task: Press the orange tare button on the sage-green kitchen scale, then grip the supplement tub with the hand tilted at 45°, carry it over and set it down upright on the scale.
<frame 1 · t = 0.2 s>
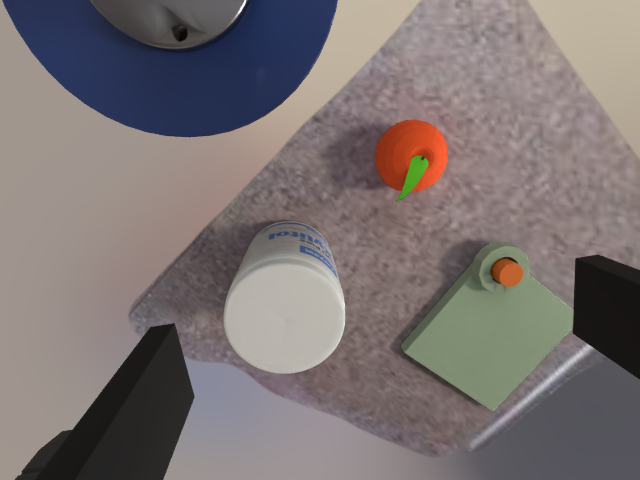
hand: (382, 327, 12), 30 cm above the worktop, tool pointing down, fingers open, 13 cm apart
supplement tub: (288, 259, 43), on the worktop
tare button: (507, 272, 40), point 4 cm above the worktop, slide at 0.1 cm
scale: (487, 328, 47), on the worktop
clementine: (398, 159, 41), on the worktop
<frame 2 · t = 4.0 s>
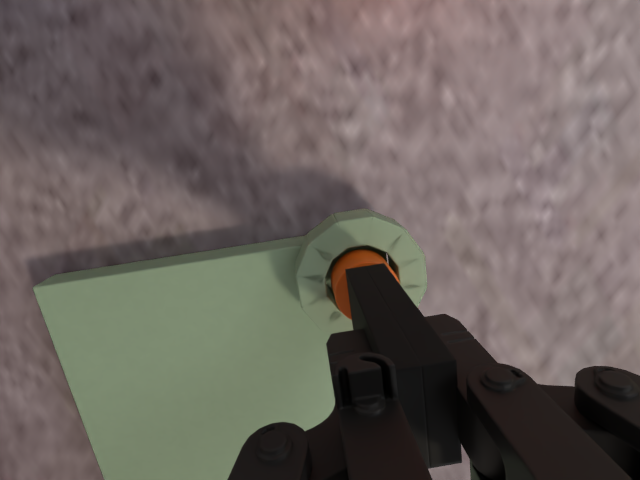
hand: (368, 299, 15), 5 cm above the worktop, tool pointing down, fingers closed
tare button: (364, 285, 16), point 4 cm above the worktop, slide at 0.0 cm, touching gripper
scale: (246, 378, 21), on the worktop
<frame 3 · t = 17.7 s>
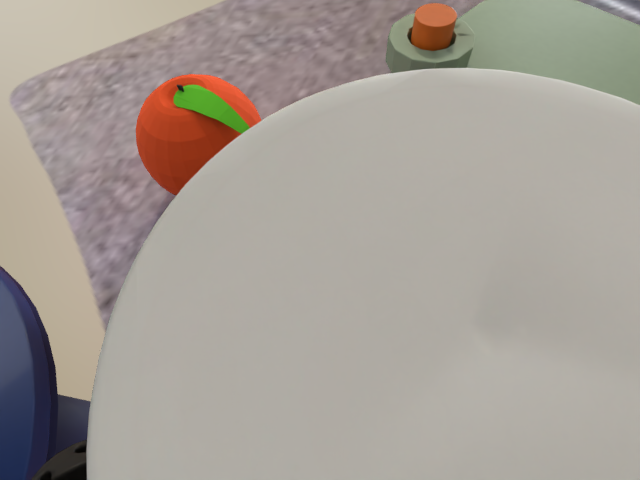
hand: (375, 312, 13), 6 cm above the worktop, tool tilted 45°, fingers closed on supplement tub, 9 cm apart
supplement tub: (379, 422, 17), on the worktop, touching gripper
tare button: (433, 28, 25), point 4 cm above the worktop, slide at 0.1 cm
scale: (546, 82, 27), on the worktop
clementine: (228, 185, 24), on the worktop
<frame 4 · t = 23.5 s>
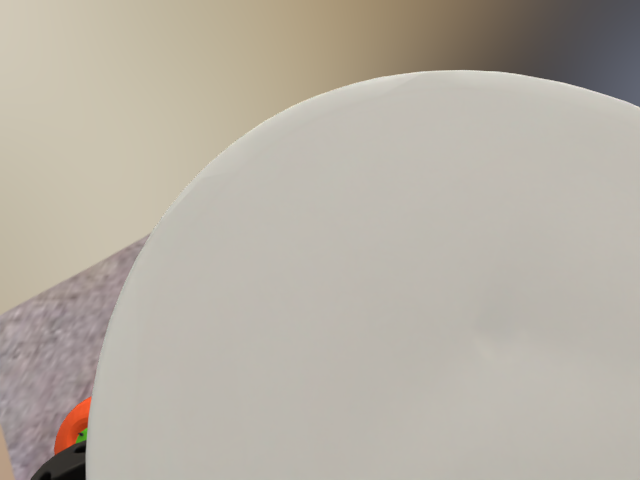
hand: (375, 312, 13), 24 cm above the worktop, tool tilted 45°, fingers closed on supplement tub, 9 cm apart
supplement tub: (380, 423, 17), point 18 cm above the worktop, touching gripper
clementine: (133, 441, 33), on the worktop
when the fingers open (8 cm above the worktop, at t = 29.5 s): supplement tub stays where it is, resting on scale.
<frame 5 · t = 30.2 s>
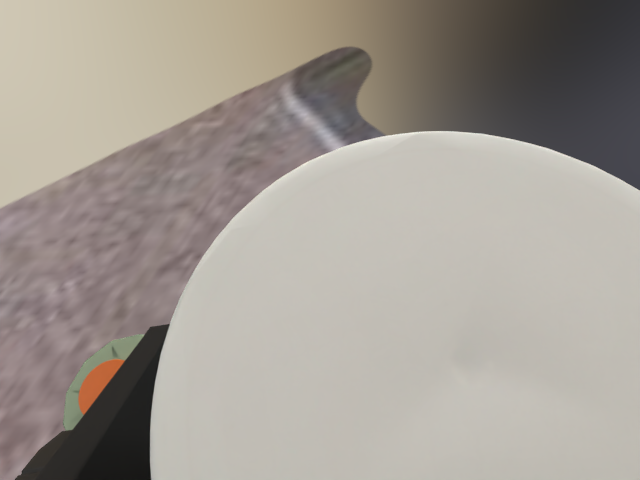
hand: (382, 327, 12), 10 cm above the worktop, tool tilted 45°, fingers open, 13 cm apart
supplement tub: (380, 426, 18), point 2 cm above the worktop, touching scale
tare button: (118, 392, 17), point 4 cm above the worktop, slide at 0.1 cm
scale: (316, 416, 20), on the worktop
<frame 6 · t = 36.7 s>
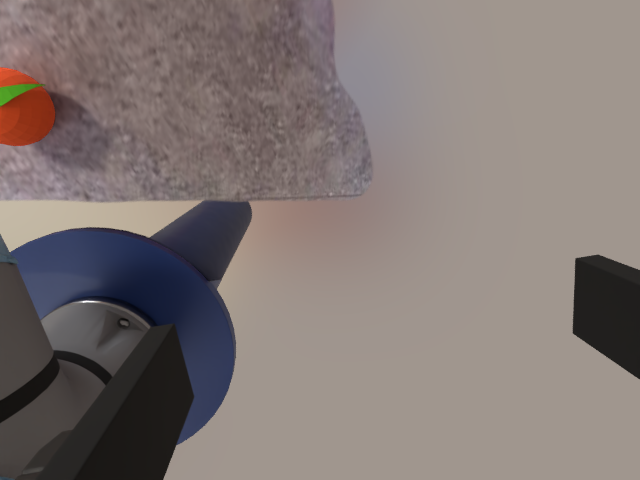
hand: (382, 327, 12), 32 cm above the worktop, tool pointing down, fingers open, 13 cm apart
clementine: (40, 108, 39), on the worktop
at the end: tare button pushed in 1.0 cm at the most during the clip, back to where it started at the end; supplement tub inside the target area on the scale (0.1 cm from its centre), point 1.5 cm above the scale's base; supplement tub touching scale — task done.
